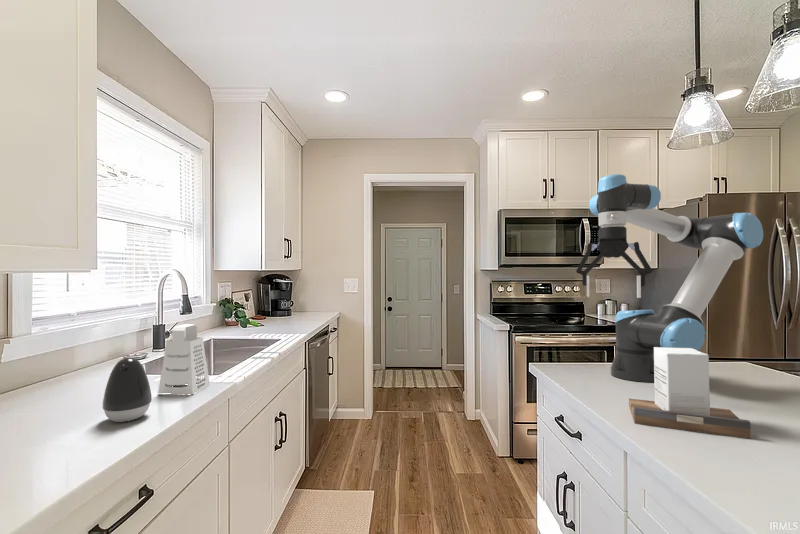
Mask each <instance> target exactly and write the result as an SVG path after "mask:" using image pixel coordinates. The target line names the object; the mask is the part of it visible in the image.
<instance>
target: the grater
mask: <svg viewBox="0 0 800 534" xmlns="http://www.w3.org/2000/svg"><path fill="white" fill-rule="evenodd" d="M171 331H172V333H171V334H172V335H171V336H172V339H170V340H166V342H165V347H164V354H163V360H162V361H163V362H162V367H161V374H160V380H159V383H158V384H159V385H158V391H157V394H158V393H171V394H194V393H195V392H197V391H199V390H201V389H203V388H205V387H206V388H208V387H210V386H211V384H210V378H209V371H208V365H207V364H208V363H207V358H206V350H205V344H204V337H203V336H201V337H199V336H198V327H197V324H187V323H186V324H181V325H176V326H173V328H172V330H171ZM185 384H188V385H185ZM196 384H197V385H196ZM175 385H177V386H180V387H177V386H175ZM209 385H210V386H209ZM172 386H175V387H172ZM181 386H183V387H181ZM207 386H208V387H207ZM206 388H205V389H206ZM203 390H204V389H203ZM201 391H202V390H201ZM199 392H200V391H199ZM194 395H195V394H194Z"/></svg>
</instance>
